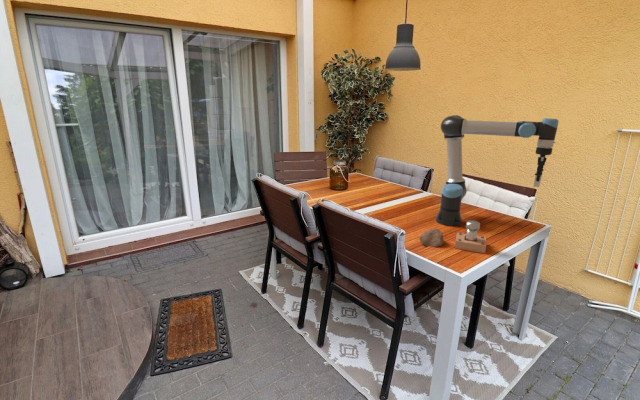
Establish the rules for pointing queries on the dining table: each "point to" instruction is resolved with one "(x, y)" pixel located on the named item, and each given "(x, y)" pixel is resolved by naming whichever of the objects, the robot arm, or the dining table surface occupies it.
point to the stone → (432, 238)
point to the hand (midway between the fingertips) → (536, 184)
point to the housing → (470, 243)
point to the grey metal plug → (472, 230)
